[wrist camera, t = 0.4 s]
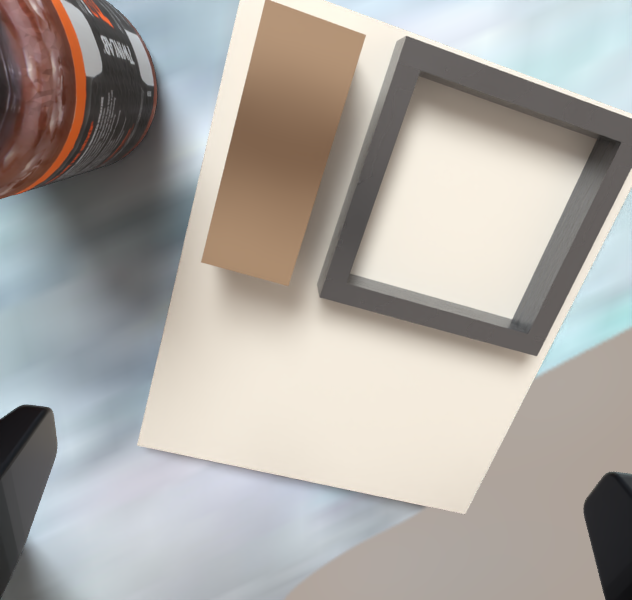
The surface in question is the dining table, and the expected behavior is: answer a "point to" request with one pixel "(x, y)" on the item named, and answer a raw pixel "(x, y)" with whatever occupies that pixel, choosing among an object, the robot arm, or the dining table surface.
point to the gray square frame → (570, 232)
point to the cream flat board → (380, 265)
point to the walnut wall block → (280, 142)
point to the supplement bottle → (69, 90)
